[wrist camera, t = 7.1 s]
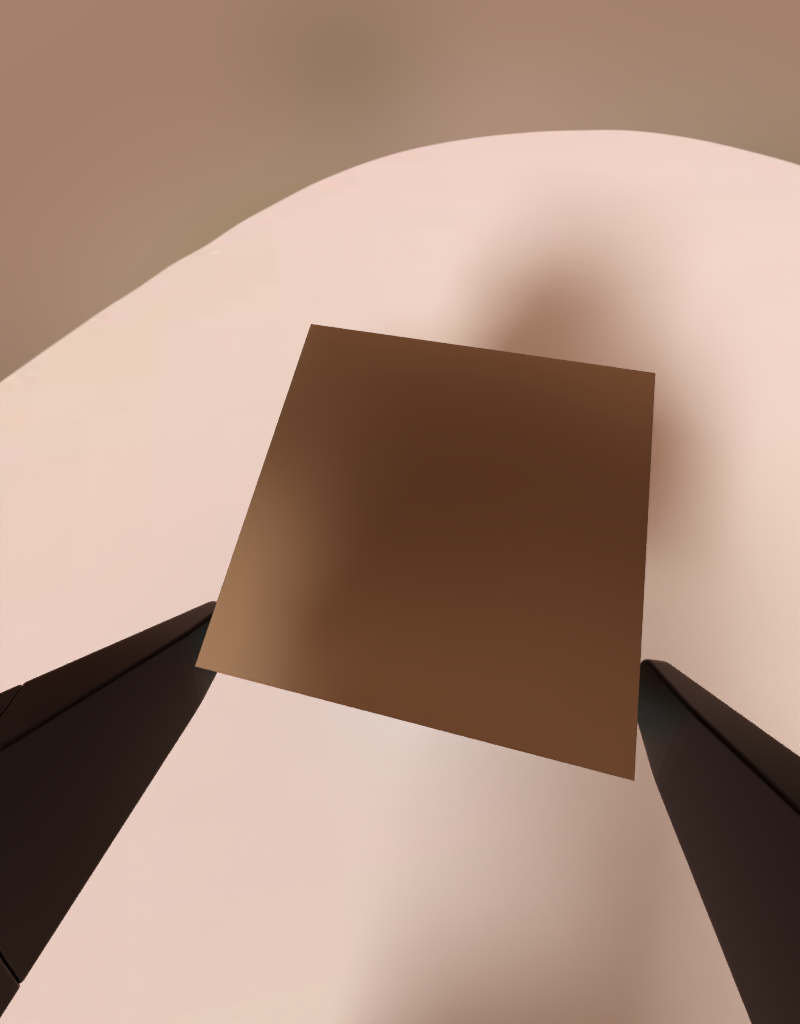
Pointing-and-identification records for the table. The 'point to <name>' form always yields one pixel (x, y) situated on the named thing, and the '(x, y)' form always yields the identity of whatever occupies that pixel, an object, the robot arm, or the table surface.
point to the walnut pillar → (451, 545)
